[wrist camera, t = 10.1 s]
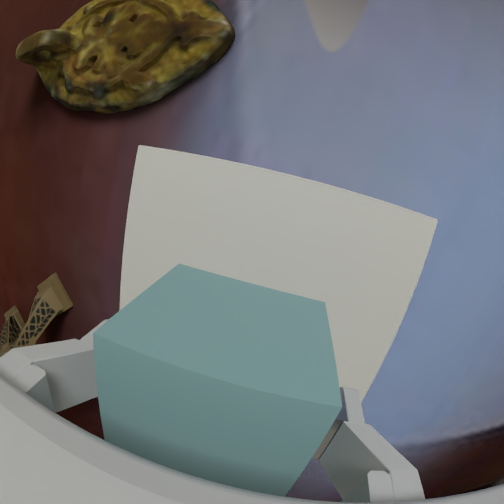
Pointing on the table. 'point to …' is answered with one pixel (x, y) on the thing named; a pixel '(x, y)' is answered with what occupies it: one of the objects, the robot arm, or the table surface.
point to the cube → (218, 379)
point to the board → (279, 245)
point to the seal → (127, 51)
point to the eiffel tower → (34, 316)
